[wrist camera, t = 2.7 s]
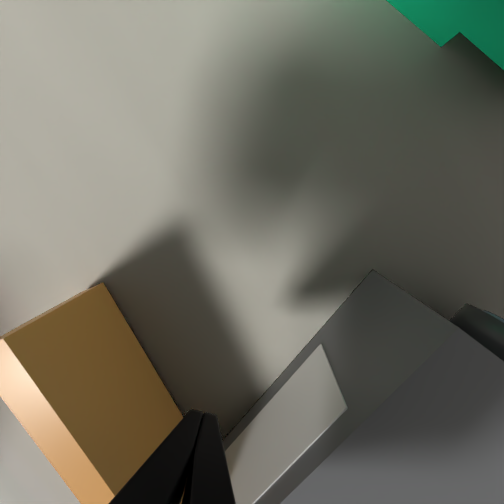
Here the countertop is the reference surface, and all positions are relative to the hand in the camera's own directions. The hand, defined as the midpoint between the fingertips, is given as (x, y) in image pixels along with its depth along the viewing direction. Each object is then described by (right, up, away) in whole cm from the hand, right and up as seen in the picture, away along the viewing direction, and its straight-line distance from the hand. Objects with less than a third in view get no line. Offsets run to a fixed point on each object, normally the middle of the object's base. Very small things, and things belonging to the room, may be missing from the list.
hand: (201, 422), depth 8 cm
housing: (+6, -3, +5) cm, 8 cm away
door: (-4, -1, +5) cm, 6 cm away
